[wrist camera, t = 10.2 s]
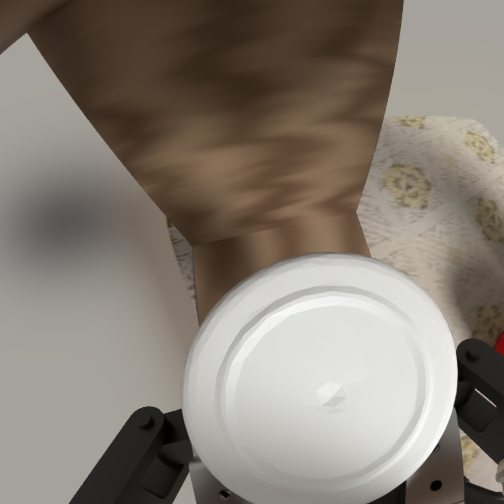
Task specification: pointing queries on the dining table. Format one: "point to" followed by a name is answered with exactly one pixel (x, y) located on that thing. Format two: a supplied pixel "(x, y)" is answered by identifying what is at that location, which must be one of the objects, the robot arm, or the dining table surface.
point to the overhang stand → (230, 114)
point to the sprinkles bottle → (319, 381)
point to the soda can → (500, 345)
